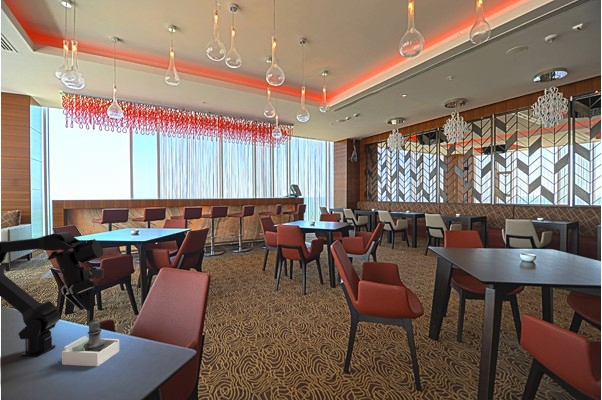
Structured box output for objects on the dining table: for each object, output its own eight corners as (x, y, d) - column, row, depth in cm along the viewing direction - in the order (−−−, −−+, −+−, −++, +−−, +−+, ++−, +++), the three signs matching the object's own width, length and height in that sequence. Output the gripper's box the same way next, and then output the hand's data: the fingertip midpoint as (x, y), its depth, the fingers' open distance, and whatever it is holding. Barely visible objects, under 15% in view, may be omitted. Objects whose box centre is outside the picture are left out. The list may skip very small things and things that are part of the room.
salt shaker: (98, 359, 90) (97, 320, 90) (78, 359, 89) (78, 321, 89) (109, 349, 96) (109, 313, 96) (91, 350, 95) (91, 314, 95)
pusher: (72, 358, 90) (72, 347, 90) (89, 348, 96) (89, 337, 96) (75, 359, 90) (75, 347, 90) (92, 348, 96) (92, 337, 96)
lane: (62, 364, 89) (61, 348, 89) (86, 349, 98) (86, 334, 98) (97, 366, 87) (97, 349, 88) (119, 351, 96) (119, 336, 96)
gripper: (104, 256, 99) (119, 298, 99) (90, 260, 111) (104, 298, 111) (64, 269, 90) (81, 315, 91) (54, 272, 102) (69, 313, 103)
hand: (85, 309), depth 99 cm, fingers open, 9 cm apart
